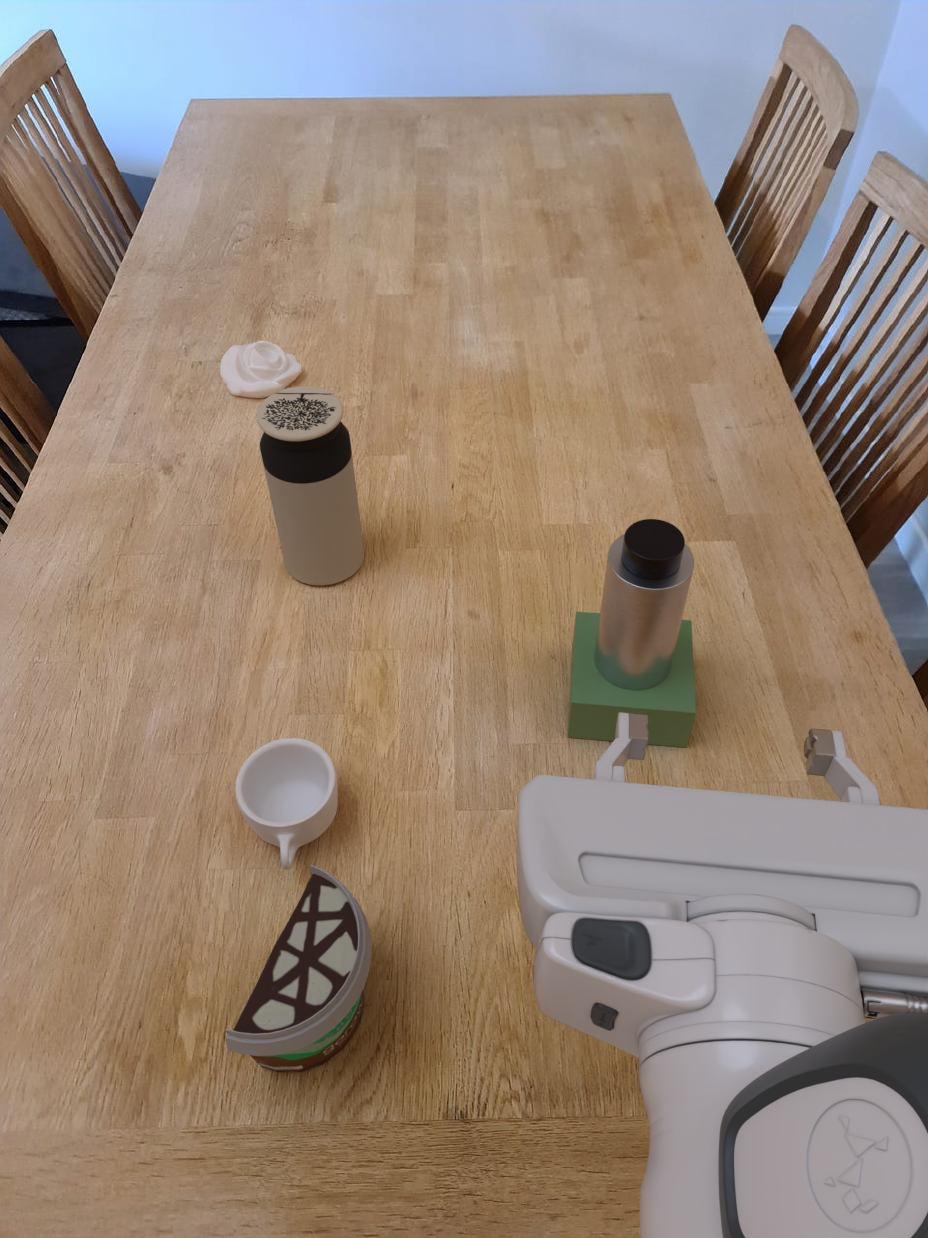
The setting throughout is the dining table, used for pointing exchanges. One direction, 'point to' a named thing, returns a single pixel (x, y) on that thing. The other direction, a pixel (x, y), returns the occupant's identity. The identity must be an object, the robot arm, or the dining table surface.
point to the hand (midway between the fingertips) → (725, 727)
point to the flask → (642, 604)
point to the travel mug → (311, 484)
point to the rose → (258, 369)
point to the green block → (630, 692)
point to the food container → (309, 983)
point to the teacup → (288, 794)
